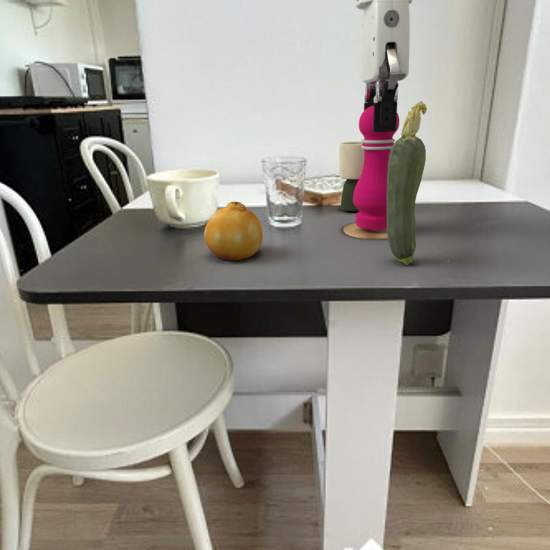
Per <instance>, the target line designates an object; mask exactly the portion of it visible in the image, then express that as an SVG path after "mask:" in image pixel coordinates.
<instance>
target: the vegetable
mask: <svg viewBox="0 0 550 550" xmlns="http://www.w3.org/2000/svg"><path fill="white" fill-rule="evenodd" d="M427 110H428V108H427V106H426V104H425V103H424V101H422V100H419V102H417V103H415V104H414V105H413V106H412V107H410V111H407V115H405V118H404V122H403V124H402V125H403V126H402V128H401V133H400V136H401V137H400V138H398V139H397V140H395V142H394V144H393V146H392V148H391V151H390V155H389V161H388V174H387V235H388V239H387V241H388V246H389V249H390V252H391V254H392V255H393V256H394V257H395V258H396V259H397V260H398V261H399V262H400V263H403V264H404V266H405V265H406V266H409V264H412V263H413V261H414V255H415V251H416V247H417V239H416V214H415V212H416V210H415V209H416V200H417V197H418V193H419V190H420V186H421V184H422V183H421V182H422V179H423V175H424V170H425V166H426V159H427V149H426V146H425V144H424V142H423V140H422V139H421V138H420V137H418V136H417V133H418V132H419V130H420V127H421V121H422V116H421V114H422V115H423V116H424V115H425V114H426V113H427Z"/></svg>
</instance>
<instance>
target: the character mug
mask: <svg viewBox="0 0 550 550" xmlns="http://www.w3.org/2000/svg"><path fill="white" fill-rule="evenodd" d="M362 144H363V143H362V140H360V141H358V140H357V141H345V142H339V150H338V151H339V152H338V154H339V155H338V177H339V178H341V179H346V180H345V181H344V183H343V186H342V193H341V198H340V199H341V200H340V209H341V210H342V211H346V212H355V211H359V210H358V209H357V207H356V206H355V205H354V203H353V195H354V190H355V187H356V185H357V182H358V180H359V178H360V175H361V173H362V169H363V164H364V149H362V148H361V147H362Z"/></svg>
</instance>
